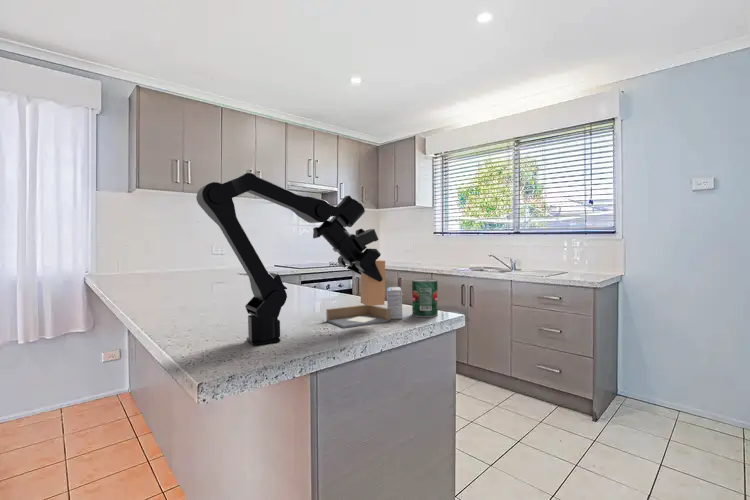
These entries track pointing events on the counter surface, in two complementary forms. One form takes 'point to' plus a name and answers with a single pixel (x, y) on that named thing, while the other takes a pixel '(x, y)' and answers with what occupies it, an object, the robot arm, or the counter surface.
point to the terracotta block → (373, 287)
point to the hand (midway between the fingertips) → (377, 279)
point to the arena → (357, 315)
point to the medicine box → (394, 302)
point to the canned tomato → (424, 297)
